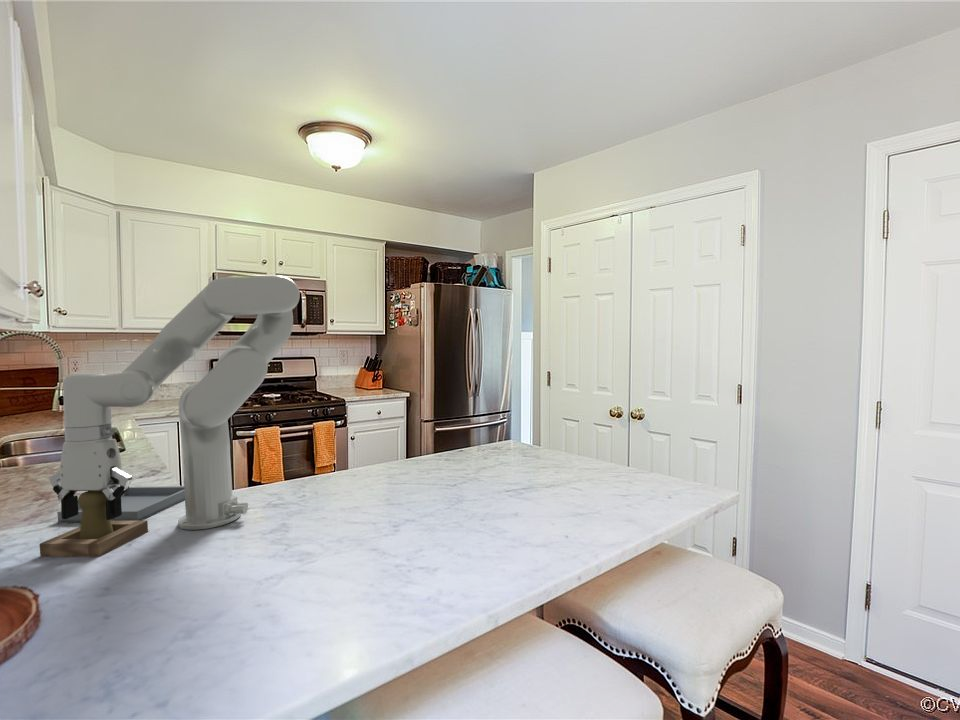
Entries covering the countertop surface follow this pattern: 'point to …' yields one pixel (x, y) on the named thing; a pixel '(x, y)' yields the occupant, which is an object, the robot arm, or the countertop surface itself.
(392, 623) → the countertop surface
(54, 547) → the socket block
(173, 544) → the countertop surface
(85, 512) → the cork
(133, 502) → the tray
